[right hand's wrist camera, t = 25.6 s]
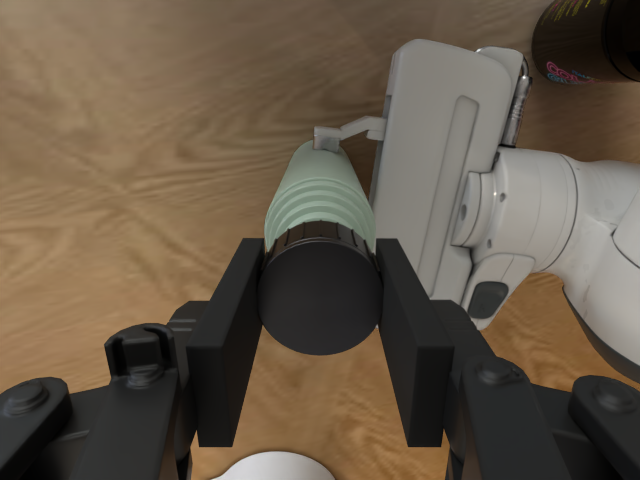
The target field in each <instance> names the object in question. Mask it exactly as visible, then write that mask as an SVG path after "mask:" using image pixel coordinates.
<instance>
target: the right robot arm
mask: <svg viewBox="0 0 640 480" xmlns="http://www.w3.org/2000/svg"><path fill="white" fill-rule="evenodd" d="M375 257H376V260H377V263H378V265H379V268H380V271H381V272H380V273H379V274H380V277H381V280H382V284H383V287H384V297H383V312H382V316H381V318H380V320H379V322H378V328H379V332H380V336H381V340H382V344H383V348H384V352H385V356H386V360H387V364H388V368H389V373H390V377H391V381H392V385H393V389H394V393H395V397H396V401H397V405H398V409H399V413H400V417H401V421H402V425H403V429H404V433H405V437H406V441H407V445H408V447H441V444H442V437H443V429H444V430H445V433H446V435H447V438H448V441H449V444H450V449H449V456H448V463H447V470H446V477H445V480H640V392H639V391H638V390H636V389H635V388H633V387H631V386H629V385H627V384H625V383H622V382H621V381H618V380H615V379H611V378H608V377H604V376H594V375H588V376H583V377H579V378H578V379H577V380H576V381H575V382H574V384H573V388H572V391H571V392H567V391H562V390H557V389H553V388H548V387H543V386H539V385H536V384H532V383H530V380H529V378H528V377H527V375H526V374H525V373H524V371H523V370H522V369H521V368H519V367H518V366H517V365H515V364H514V363H512V362H510V361H507V360H505V359H503V358H500V357H496V355H495V354H494V352H493V351H492V349H491V348H490V346H489V345H488V343H487V342H486V340H485V339H484V337H483V336H482V334H481V333H480V331H479V330H477V327H476V325H475V324H474V322H473V321H471V318H470V317H469V315H468V314H467V312H466V311H465V309H464V308H463V307H461V306H460V305H458V304H457V303H455V302H454V301H452V300H430V299H429V297H428V295H427V293H426V291H425V289H424V288H423V286H422V284H421V282H420V280H419V278H418V276H417V274H416V273H415V271H414V269H413V267H412V265H411V263H410V261H409V260H408V258H407V256H406V254H405V252H404V250H403V248H402V246H401V245H400V243H399V241H398V239H397V238H376V251H375ZM264 258H265V246H264V238H243V239H242V241H241V243H240V245H239V247H238V249H237V251H236V253H235V254H234V256H233V258H232V260H231V262H230V264H229V266H228V268H227V269H226V271H225V273H224V275H223V277H222V279H221V281H220V282H219V284H218V286H217V288H216V290H215V292H214V294H213V296H212V297H211V299H210V301H188V302H187V303H186V304H184V305H183V306H181V307H180V308H178V309H177V310H176V311H175V313H174V314H173V316H172V317H171V319H170V320H169V322H168V323H167V325H163V324H159V323H145V324H140V325H135V326H131V327H129V328H126V329H123V330H121V331H119V332H117V333H116V334H114V335H113V336H111V337H110V338H109V339H108V340H107V342H106V343H105V344H104V347H105V352H106V356H107V361H108V365H109V370H110V374H111V381H110V383H109V385H107V386H103V387H100V388H96V389H91V390H86V391H82V392H77V393H72V394H69V390H68V386H67V384H66V383H65V382H64V381H63V380H62V379H60V378H54V377H44V378H36V379H32V380H29V381H25V382H22V383H20V384H18V385H16V386H14V387H12V388H10V389H7V390H6V391H4V392H3V393H2V394H0V480H191V473H192V464H193V463H192V456H191V449H190V446H191V444H192V441H193V438H194V435H195V433H196V430H197V435H198V442H199V447H232V446H233V442H234V438H235V434H236V430H237V426H238V422H239V418H240V414H241V410H242V406H243V402H244V398H245V394H246V390H247V386H248V382H249V378H250V374H251V369H252V365H253V361H254V357H255V353H256V349H257V345H258V341H259V337H260V333H261V329H262V325H263V324H262V322H261V320H260V317H259V315H258V309H257V292H256V289H257V284H258V281H259V278H260V275H261V271H260V269H261V266H262V263H263V261H264Z"/></svg>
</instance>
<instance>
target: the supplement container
mask: <svg viewBox="0 0 640 480" xmlns="http://www.w3.org/2000/svg"><path fill="white" fill-rule="evenodd" d="M532 56H533V60H534V63H535V65H536V67H537V69H538V70H539V72H540V73H541V74H542V75H543V76H544V77H545V78H547V79H548V80H550V81H552V82H554V83H557V84H561V85H580V84H606V83H631V82H639V83H640V0H554V1H553V2H552V3H551V4H550V5H549V6H548V7H547V8H546V10H545V11H544V12H543V14H542V15H541V17H540V19H539V20H538V22H537V25H536V27H535V30H534V33H533V37H532Z"/></svg>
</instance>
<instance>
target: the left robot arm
mask: <svg viewBox="0 0 640 480" xmlns="http://www.w3.org/2000/svg"><path fill="white" fill-rule="evenodd" d="M520 69H521V70H522V76H519V73H520ZM528 75H529V68H528V63H527V61H526V59H525V57H524V56H523V55H522V53H520V52H519V51H517V50H515V49H512V48H505V47H498V46H484V47H481V48H479V49H477V50H476V51H474V52H473V51H470V50H467V49H464V48H460V47H457V46H453V45H450V44H445V43H441V42H436V41H431V40H426V39H414V40H411V41H409V42H407V43H405V44H404V45H403V46H401V47H400V48H399V49H398V50H397V51H396V52H395V53H394V54H393V57H392V61H391V67H390V73H389V79H388V85H387V91H386V97H385V103H384V109H383V114H382V117H374V116H364V117H362V118H359V119H357V120H355V121H353V122H350V123H348V124H346V125H343V126H341V127H340V129H339V128H331V127H323V126H315V128H314V136H313V146H312V149H314V150H324V149H326V150H327V151H330V152H336V153H338V149H339V143H340V141H341V140H344V139H346V138H348V137H351V136H353V135H356V134H358V133H360V132H363V131H364V135H365V136H366V137H367V138H368V139H373V140H378V144H377V150H376V156H375V162H374V168H373V174H372V180H371V185H370V191H369V197H368V202H369V205H370V207H371V209H372V211H373V214H374V218H375V223H376V236H375V243H374V248H373V251H372V253H373V252H374V254H375V251H376V238H397V239H398V241H399V243H400V245H401V246H402V248H403V250H404V252H405V254H406V256H407V258H408V260H409V261H410V263H411V265H412V267H413V269H414V271H415V273H416V274H417V276H418V278H419V280H420V282H421V284H422V286H423V288H424V289H425V291H426V293H427V295H428V297H429V299H430V300H452V301H454V302H455V303H457V304H458V305H460V306H461V307H463V308H464V309H465V311H466V312H467V314H468V315H469V317H470V318H471V321H473V322H474V324H475V325H476V327H477V330H483V329H485V328H486V327H487V326H488V325H489V324H490V323H491V321H492V320H493V319H494V317H495V316H496V314H497V313H498V311H499V310H500V309H501V307H502V306H503V304H504V303H505V302H506V300H507V299H508V298H509V296H510V295H511V294H512V293H513V291H514V290H515V289H516V288H517V287H518V285H519V284H520V283H521V282H522V281H523V280H524V279H525V278H526V277H527V275H528V274H529V273H542V272H547V273H552V274H554V275H556V276H558V277H559V278H560V279H561V280H562V281H563V283H564V285H563V287H562V289H563V293H564V295H565V297H566V300H567V302H568V304H569V306H570V308H571V309H572V311H573V313H574V315H575V317H576V318H577V320H578V322H579V324H580V326H581V327H582V329H583V331H584V333H585V334H586V336H587V338H588V340H589V341H590V343H591V344H592V346H593V347H594V348H595V350H596V351H597V352H598V353H599V354H600V355H601V356H602V358H603V359H604V360H605V361H606V362H607V363H608V364H609V365H610V366H611V367H613V368H614V369H615V370H616V371H618V372H619V373H621V374H622V375H624V376H626V377H627V378H629V379H631V380H633V381H635V382H637V383H639V384H640V164H638V163H632V162H625V161H618V160H599V161H593V162H580V161H577V160H575V159H573V158H571V157H569V156H566V155H563V154H560V153H555V152H546V151H539V150H531V149H523V148H516V147H515V145H516V142H517V138H518V134H519V131H520V127H521V123H522V118H523V115H522V114H523V112H524V111H523V110H524V106H525V104H526V100H527V99H528V98H529V95H530V92H531V88H532V79H533V78H532V77H528ZM498 144H499V145H498ZM375 328H378V324H377V326H376V327H375ZM212 480H335V478H334V477H333V475H332V474H331V473H330V472H329V471H328V470H327V469H326V468H325V467H324V466H323V465H321V464H320V463H318V462H316V461H315V460H313V459H311V458H308V457H306V456H303V455H300V454H296V453H290V452H280V451H274V452H264V453H259V454H255V455H252V456H249V457H246V458H244V459H242V460H240V461H239V462H237V463H236V464H234V465H233V466H232V467H231V468H230V469H229V470H228V471H226V472H225V473H224V474H223V475H222V476H220V477H217V478H215V479H212Z"/></svg>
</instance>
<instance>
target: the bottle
mask: <svg viewBox="0 0 640 480" xmlns="http://www.w3.org/2000/svg"><path fill="white" fill-rule="evenodd" d="M312 146H313V140H310V141H307V142H306V143H304V144H302V145H301V146H300V147H299V148H298V149H297V150H296V151H295V153H294V154H293V156H292V158H291V160H290V163H289V165H288V167H287V169H286V172H285V174H284V176H283V178H282V181H281V183H280V185H279V187H278V189H277V192H276V194H275V196H274V198H273V201H272V203H271V205H270V207H269V210H268V212H267V215H266V218H265V225H264V235H265V241H266V247H267V251H268V252H269V250H270V248H271V246H272V245H273V243H274V240H275V239H278V238H279V236H281V235H282V234H283V233H284V232H286V231H287V229H288V228H289V229H290V228H292V227H294V226H296V225H299V224H302V222H310V221H320V220H322V221H330V222H335V223H337V222H339V224H341V225H344V226H346V227H348V228H350V229H354V231H355V232H356V233H357V234H358V235H360V236H361V237H362V238H363V239H364V240H365V239H366V241H367V244H368V246H369V248H370V249H371V251H373V248H374V243H375V236H376V223H375V218H374V214H373V211H372V209H371V207H370V205H369V202H368V200H367V198H366V196H365V193H364V191H363V189H362V187H361V185H360V182H359V180H358V178H357V176H356V173H355V171H354V169H353V167H352V165H351V162H350V160H349V158H348V156H347V154H346V152H345V151H344V150H343V148H341V147H340V146H339V149H338V153H336V152H330V151H327V150H326V149H324V150H314V149H312Z"/></svg>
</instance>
